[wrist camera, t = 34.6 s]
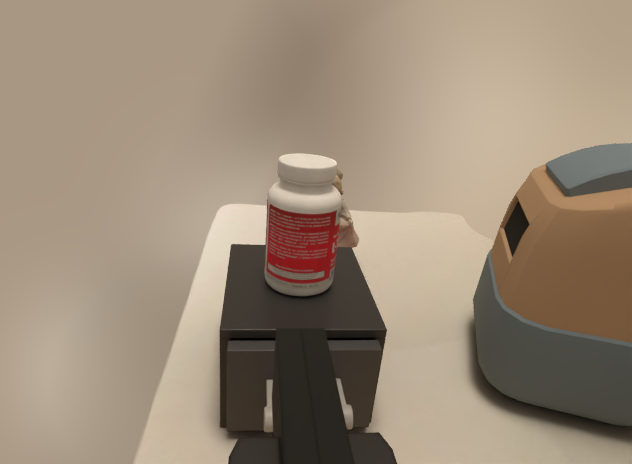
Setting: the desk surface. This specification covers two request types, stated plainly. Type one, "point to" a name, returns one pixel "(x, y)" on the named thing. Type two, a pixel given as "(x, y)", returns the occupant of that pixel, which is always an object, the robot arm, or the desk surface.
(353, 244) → the figurine
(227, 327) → the small cabinet
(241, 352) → the drawer
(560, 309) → the tan rounded box
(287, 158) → the pill bottle
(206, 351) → the desk surface
